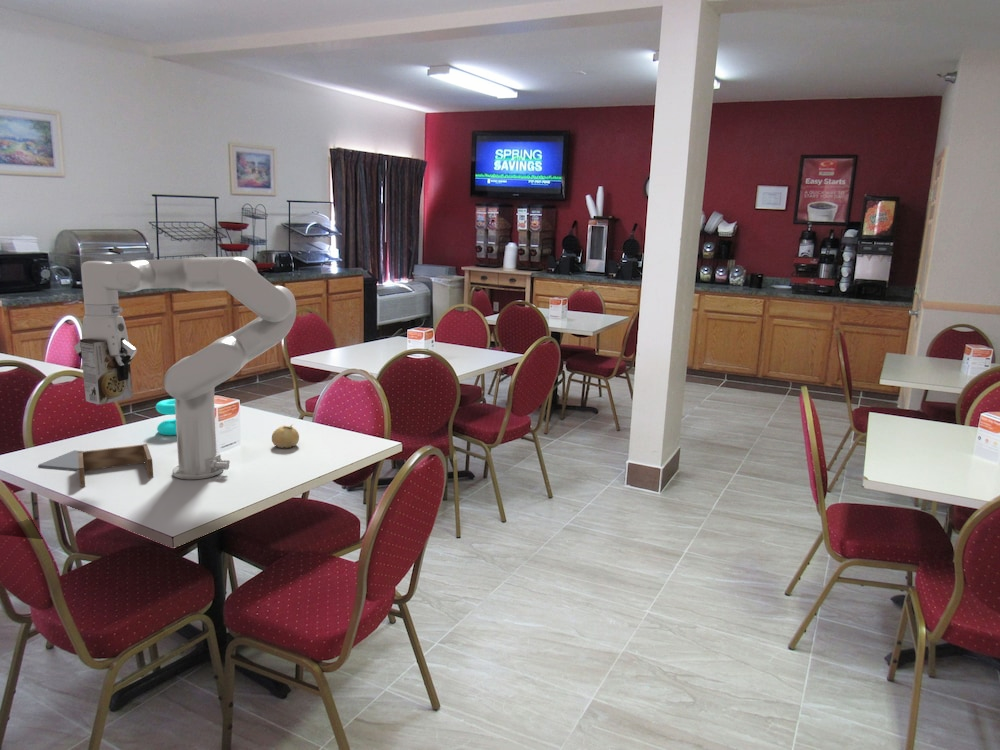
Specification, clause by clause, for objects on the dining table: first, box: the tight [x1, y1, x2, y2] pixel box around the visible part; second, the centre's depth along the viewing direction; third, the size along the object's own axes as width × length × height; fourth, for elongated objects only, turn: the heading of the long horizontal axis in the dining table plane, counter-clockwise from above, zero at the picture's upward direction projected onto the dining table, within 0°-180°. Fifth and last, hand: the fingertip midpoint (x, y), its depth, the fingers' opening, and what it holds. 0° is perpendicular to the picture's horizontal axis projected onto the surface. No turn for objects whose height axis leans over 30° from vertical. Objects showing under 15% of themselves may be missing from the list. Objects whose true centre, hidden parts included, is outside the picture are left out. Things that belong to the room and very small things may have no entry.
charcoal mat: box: [38, 449, 83, 471], centre depth 192 cm, size 13×13×1 cm
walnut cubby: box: [78, 443, 154, 488], centre depth 183 cm, size 16×14×5 cm
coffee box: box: [79, 338, 134, 406], centre depth 177 cm, size 9×6×16 cm
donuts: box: [155, 398, 177, 436], centre depth 221 cm, size 10×10×10 cm
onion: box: [271, 424, 300, 448], centre depth 211 cm, size 8×8×7 cm
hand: (107, 378), depth 178 cm, fingers closed on coffee box, 8 cm apart
